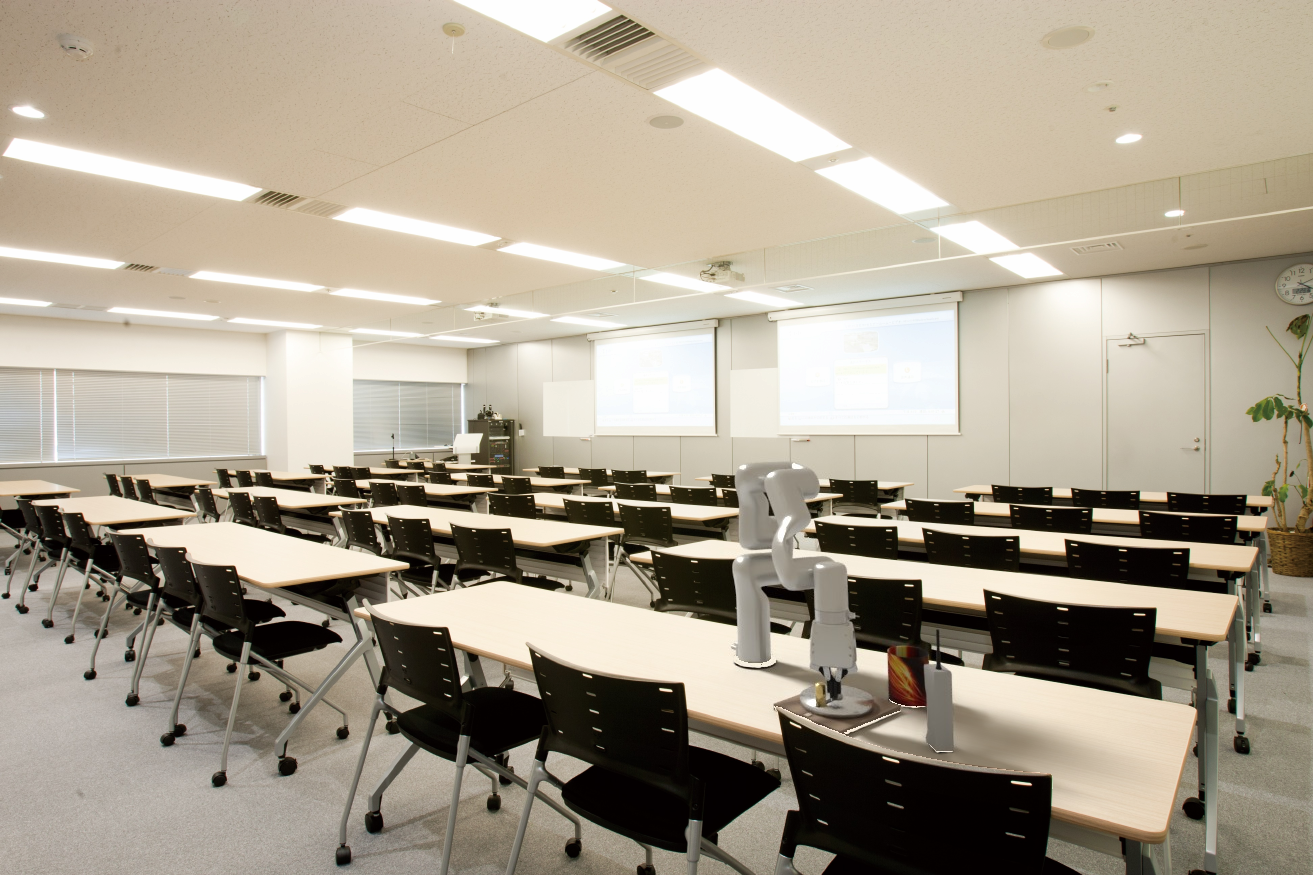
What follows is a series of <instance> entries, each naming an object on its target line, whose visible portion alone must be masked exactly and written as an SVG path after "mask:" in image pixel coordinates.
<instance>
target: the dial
mask: <svg viewBox="0 0 1313 875" xmlns="http://www.w3.org/2000/svg"><path fill="white" fill-rule="evenodd" d="M799 694H800V704H801V706H802V707H803V708H804V709H806V710H807V711H809V712H811V713H814V714H817V715H820V716H825V717H831V718H856V717H861V716H864V715H867V714H869V713H870V712H872V711H873V709H874V700H873V697H872V696H873V695H872V696H871V694H870V693H868V692H867V691H865V690H863V689H859V688H858V687H853V686H850V685H843V684H841V694H839V695H838V698H837V699H835V698H830V693H827V683H825V682H823V681H817V682H815V683H814V685H813V686H810V687H807V688H804V689H803V690H802V691H801V692H800V693H799Z"/></svg>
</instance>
